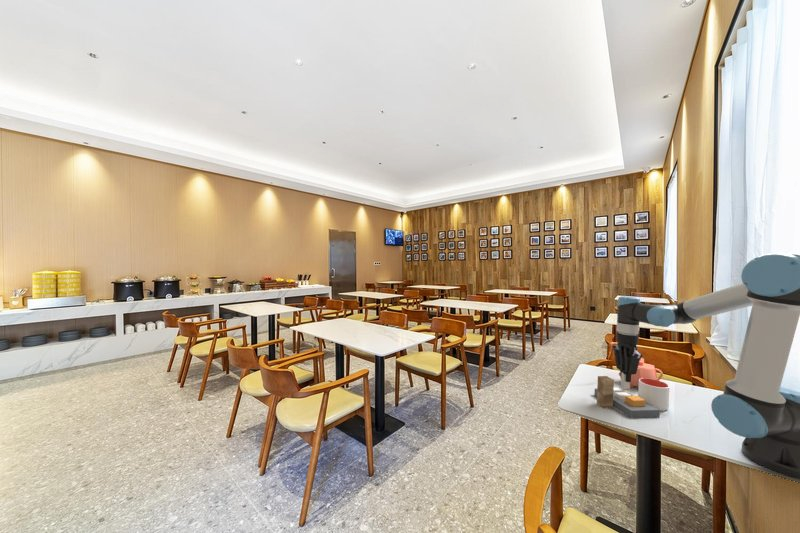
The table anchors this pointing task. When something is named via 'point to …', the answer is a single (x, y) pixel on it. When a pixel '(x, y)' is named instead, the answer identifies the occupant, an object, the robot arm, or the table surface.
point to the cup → (654, 393)
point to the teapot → (644, 373)
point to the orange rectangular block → (635, 401)
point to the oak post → (605, 392)
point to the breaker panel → (628, 410)
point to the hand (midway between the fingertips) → (625, 388)
